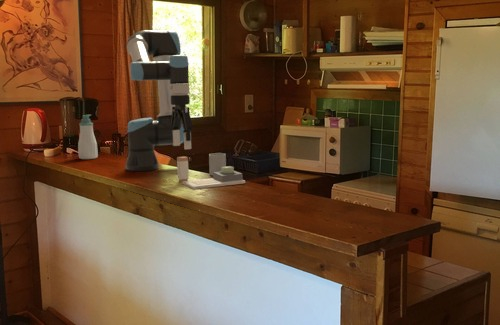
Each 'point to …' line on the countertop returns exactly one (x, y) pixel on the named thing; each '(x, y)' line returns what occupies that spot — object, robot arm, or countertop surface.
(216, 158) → the cup
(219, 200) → the countertop surface
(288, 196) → the countertop surface
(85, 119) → the soap bottle
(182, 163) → the grey and orange block
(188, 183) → the board
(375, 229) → the countertop surface
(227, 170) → the button
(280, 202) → the countertop surface
